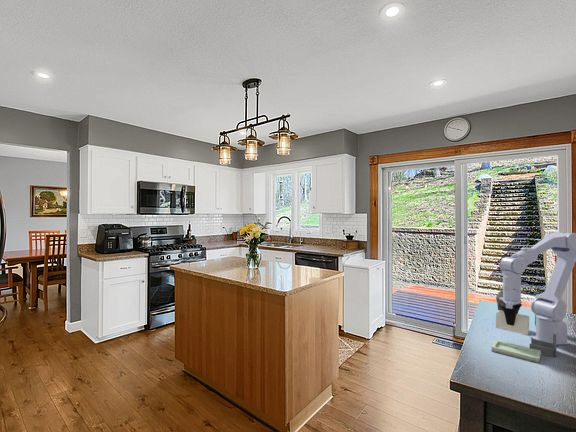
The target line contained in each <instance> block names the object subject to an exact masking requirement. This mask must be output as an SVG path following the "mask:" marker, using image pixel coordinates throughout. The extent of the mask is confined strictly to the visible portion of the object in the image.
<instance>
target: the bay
mask: <svg viewBox="0 0 576 432" xmlns="http://www.w3.org/2000/svg"><path fill="white" fill-rule="evenodd" d="M530 338H531V337H530ZM530 342H531V343H529V348H532V349H536V350H540V351H541V355H545V356H549V357H554V358H556V357H557V345H556V343H557V329H555V328H554V331H553V343H551V342H547V341H542V340H538V339H533V338H531V339H530Z"/></svg>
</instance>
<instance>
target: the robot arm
mask: <svg viewBox="0 0 576 432" xmlns="http://www.w3.org/2000/svg"><path fill="white" fill-rule="evenodd" d="M549 250H551V251H552V252H553V253H554V254H555V255H556V256H557V259H556V261H555V264H554V266H553V270H552V272H551V275H550V276H549V280H548V281H547V285H546V287H545V290H544V292H542V293H538V294H539V295H537V297H536V296H535V297H536V299H535V298H534V300H533V301H532V302H531V305H530V310H531V311H532V313H533V314H534V317H535V316H536V326H535V335H530V336H529V337H530V338H533V339H538V340H542V341H547V342H551V343H553V331H554V328H555V329H557V343H556V346H558V345H559V346H560V345H570V342H568V325H567V323H566V322H565V320H564V319H565V318H566V315H567V307H568V303H566V302H565V300H564V299H563V298H562V297H563V295H564V293H565V290H566V287H567V284H568V283H569V280H570V276H571V274H572V272H573V269H574V267H575V264H576V232H571V233H570V232H554V231H550V232H548V233H546V234H545V235H543V238H542V239H541V240H540V241H538V242H536V243H535V244H534V245H533V246H531V247H521V248H520V250H519V251H517V252H516V253H513V254H511V256H505V257H503V258H502V259H501V260H500V262H499V264H498V266H499V268H500V269H499V270H501V274H502V291H503V298H502V297H500V298H499V300H502V301H503V302H504V304H505V305H502V306H501V308H502V310H503V311H504V314H505V318H506V322H507V325H512V326H514V323H515V319H516V315H517V314H519V310H520V309H521V307H522V305H523V304H522V297H521V296H522V273H524V272H525V271H526V268H527V267H528V265H530V264H532V263H534V262H535V261H537V260H538V257H539V255H541V254H543V253H545V252H546V251H549ZM550 302H551V303H550Z"/></svg>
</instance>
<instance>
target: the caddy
mask: <svg viewBox="0 0 576 432" xmlns="http://www.w3.org/2000/svg"><path fill="white" fill-rule="evenodd" d="M495 329H499V330H503V331H508V332H512V333H517V334H520V335H521V334H522V335H525V336H529V334H530V315H526V314H521V313H518V314H517V315H516V319H515V323H514V326H512V325H507V322H506V318H505V314H504V311H500V310H498V309H497V311H496V315H495Z"/></svg>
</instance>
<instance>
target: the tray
mask: <svg viewBox="0 0 576 432" xmlns="http://www.w3.org/2000/svg"><path fill="white" fill-rule="evenodd" d="M491 351H492V352H495V353H499V354H503V355H506V356H510V357H514V358H518V359H521V360H525V361H529V362H534V363H538V364H540V362H541V356H542V354H541V351H540V350H536V349H532V348H530V347H528V346H527V347H526V346H523V345H518V344H515V343H514V344H513V343H511V342H505V341H501V340H495V341H494V342H493V344H492V345H491Z"/></svg>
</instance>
